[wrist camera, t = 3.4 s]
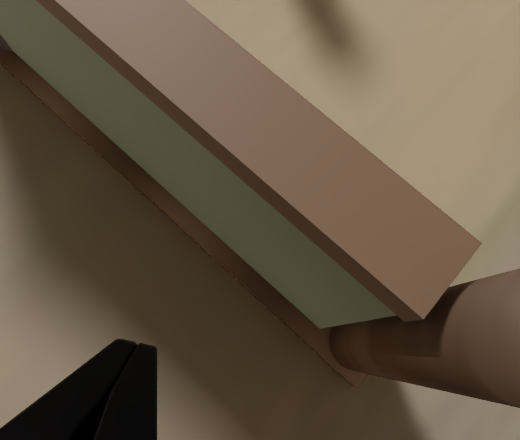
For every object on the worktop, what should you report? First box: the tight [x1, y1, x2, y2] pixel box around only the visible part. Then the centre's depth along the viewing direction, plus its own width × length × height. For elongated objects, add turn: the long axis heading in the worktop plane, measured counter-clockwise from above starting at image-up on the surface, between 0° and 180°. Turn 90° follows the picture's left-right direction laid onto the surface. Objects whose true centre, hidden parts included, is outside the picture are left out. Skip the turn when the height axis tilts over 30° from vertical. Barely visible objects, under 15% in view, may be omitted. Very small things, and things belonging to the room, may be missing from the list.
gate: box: [0, 0, 482, 329], centre depth 13 cm, size 17×2×9 cm, turn 48°
